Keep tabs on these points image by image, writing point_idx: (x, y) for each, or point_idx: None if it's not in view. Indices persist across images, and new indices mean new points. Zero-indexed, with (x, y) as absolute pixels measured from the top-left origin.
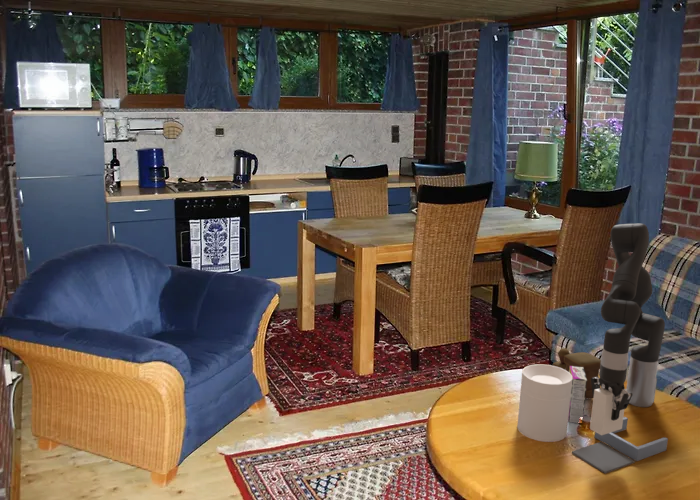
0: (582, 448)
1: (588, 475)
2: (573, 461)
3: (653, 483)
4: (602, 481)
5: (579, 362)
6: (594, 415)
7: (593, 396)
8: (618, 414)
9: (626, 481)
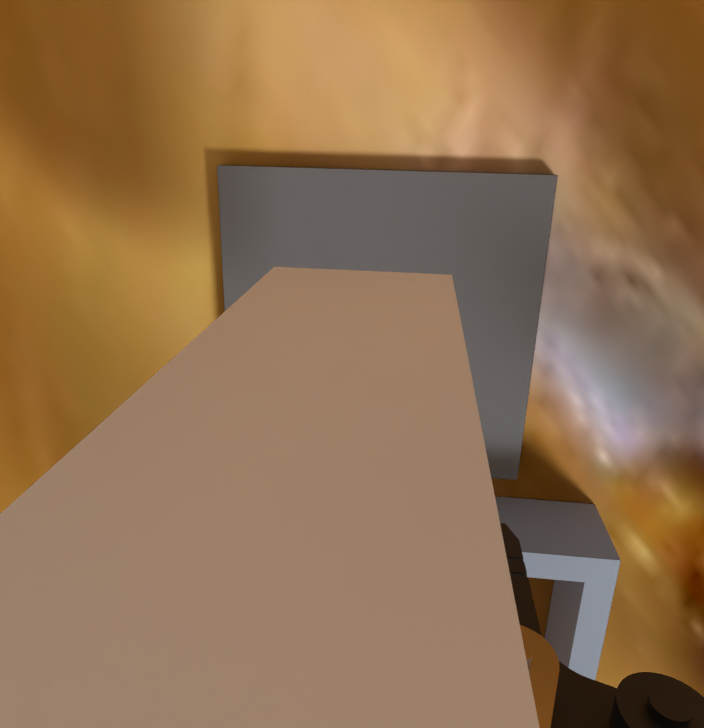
0: (535, 290)
1: (259, 19)
2: (463, 80)
3: (19, 350)
4: (153, 54)
5: None
6: (398, 334)
7: (671, 683)
8: None
9: (92, 218)
